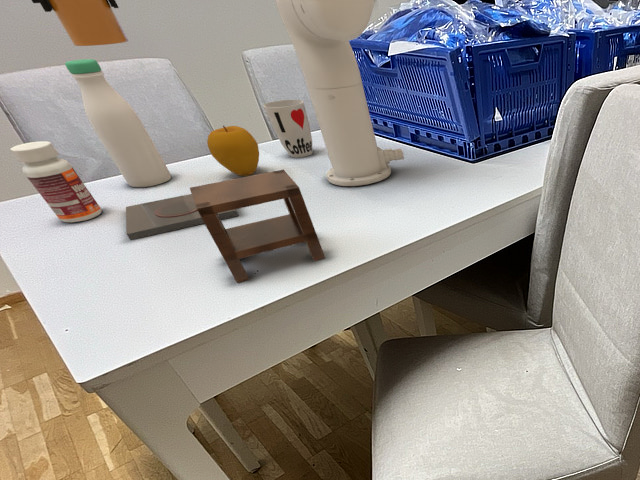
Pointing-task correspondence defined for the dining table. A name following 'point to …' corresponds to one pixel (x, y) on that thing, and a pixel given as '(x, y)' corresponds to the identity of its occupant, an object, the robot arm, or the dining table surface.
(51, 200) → the pill bottle
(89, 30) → the honey jar
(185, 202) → the hob
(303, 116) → the cup
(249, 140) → the apple
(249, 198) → the rack
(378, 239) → the dining table surface
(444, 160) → the dining table surface
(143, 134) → the milk bottle
